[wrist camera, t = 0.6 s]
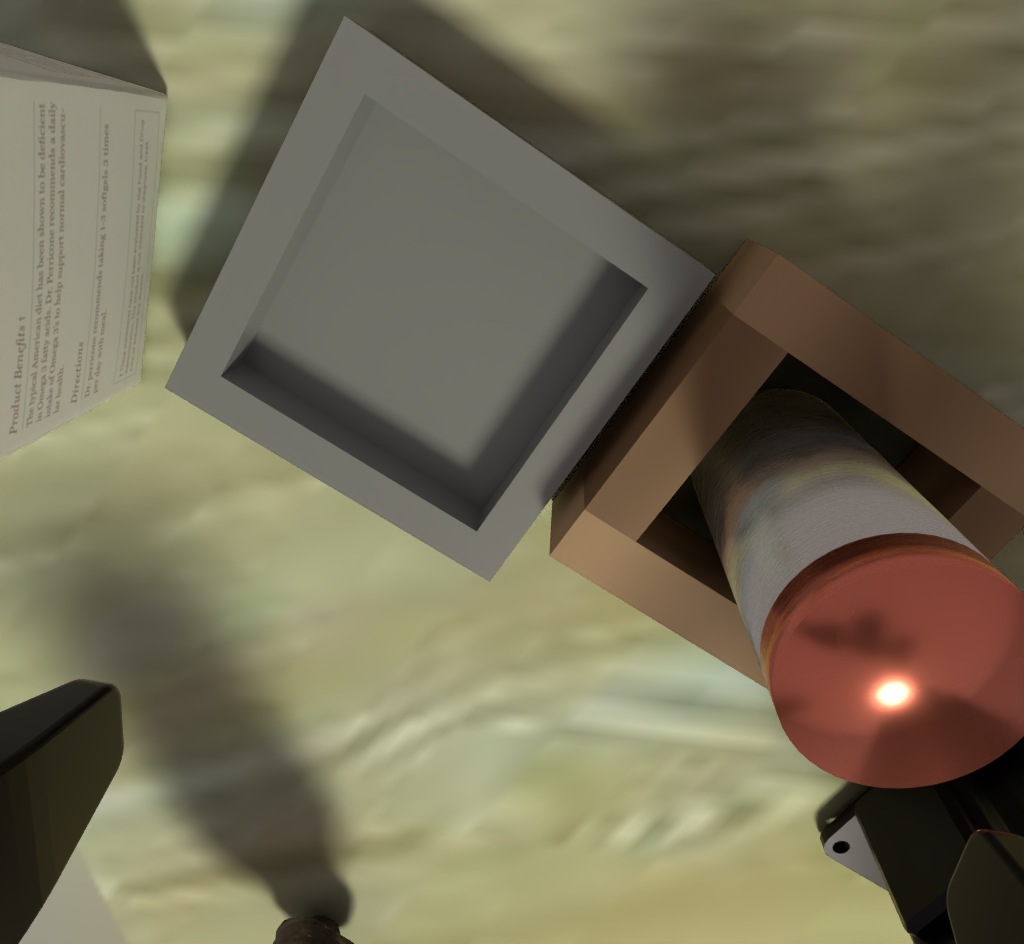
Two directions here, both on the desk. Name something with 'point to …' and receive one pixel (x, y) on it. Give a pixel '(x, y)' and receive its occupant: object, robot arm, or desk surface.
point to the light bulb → (309, 932)
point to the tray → (429, 307)
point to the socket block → (713, 407)
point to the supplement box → (72, 239)
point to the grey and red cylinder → (861, 600)
